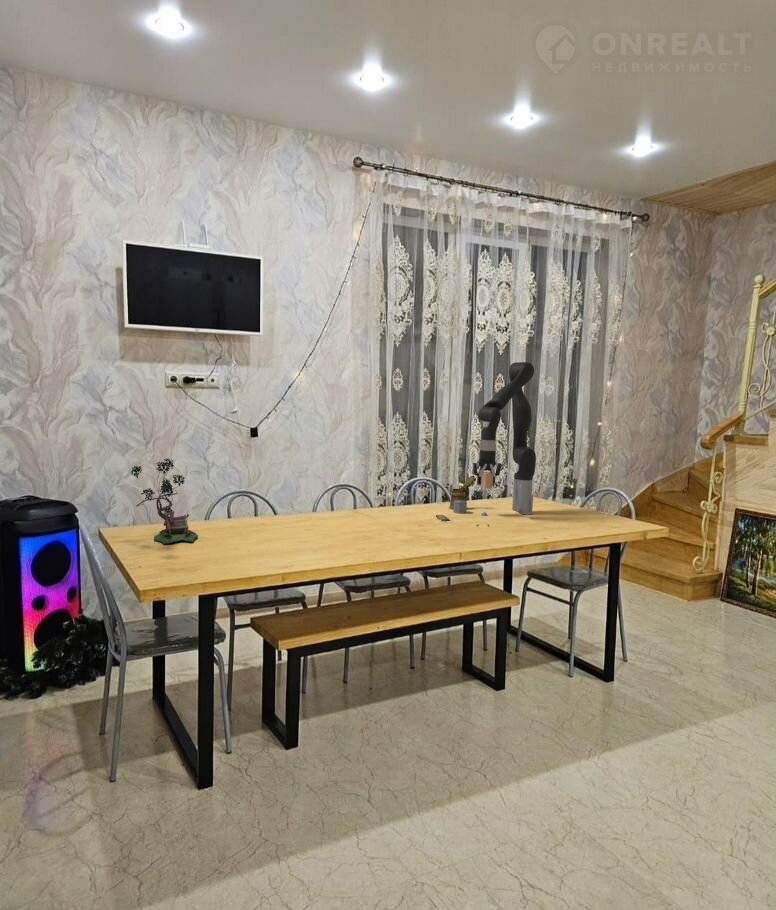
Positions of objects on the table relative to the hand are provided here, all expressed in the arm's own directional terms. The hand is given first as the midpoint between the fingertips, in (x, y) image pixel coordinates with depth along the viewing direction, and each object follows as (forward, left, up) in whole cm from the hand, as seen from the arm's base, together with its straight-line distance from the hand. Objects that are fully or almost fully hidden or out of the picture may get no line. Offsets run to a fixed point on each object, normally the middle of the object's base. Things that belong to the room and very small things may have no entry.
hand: (485, 484), depth 336 cm
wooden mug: (+6, -18, -17) cm, 25 cm away
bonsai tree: (+141, +43, -17) cm, 148 cm away
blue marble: (0, 0, -15) cm, 15 cm away
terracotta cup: (0, 0, -2) cm, 2 cm away
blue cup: (+10, -7, -17) cm, 21 cm away
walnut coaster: (+18, +2, -17) cm, 25 cm away
